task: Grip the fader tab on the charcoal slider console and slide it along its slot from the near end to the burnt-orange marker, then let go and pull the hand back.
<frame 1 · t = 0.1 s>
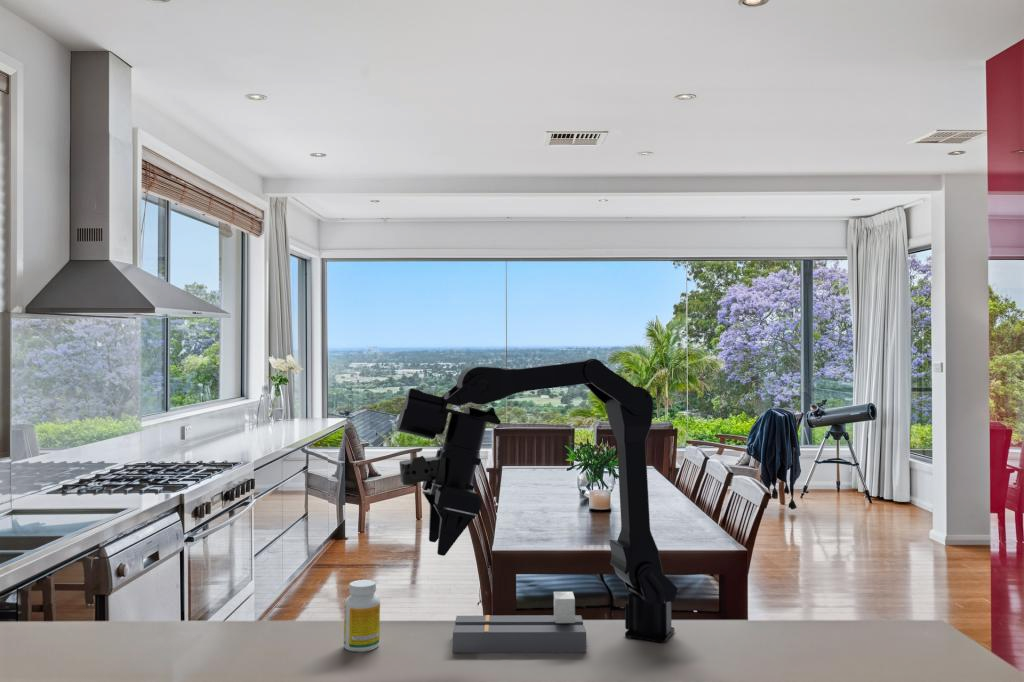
hand: (436, 548, 112), 15 cm above the countertop, tool pointing down, fingers open, 9 cm apart
supplement bottle: (361, 647, 114), on the countertop
fader tab: (564, 613, 116), point 5 cm above the countertop, slide at -7.0 cm
fader console: (519, 643, 115), on the countertop
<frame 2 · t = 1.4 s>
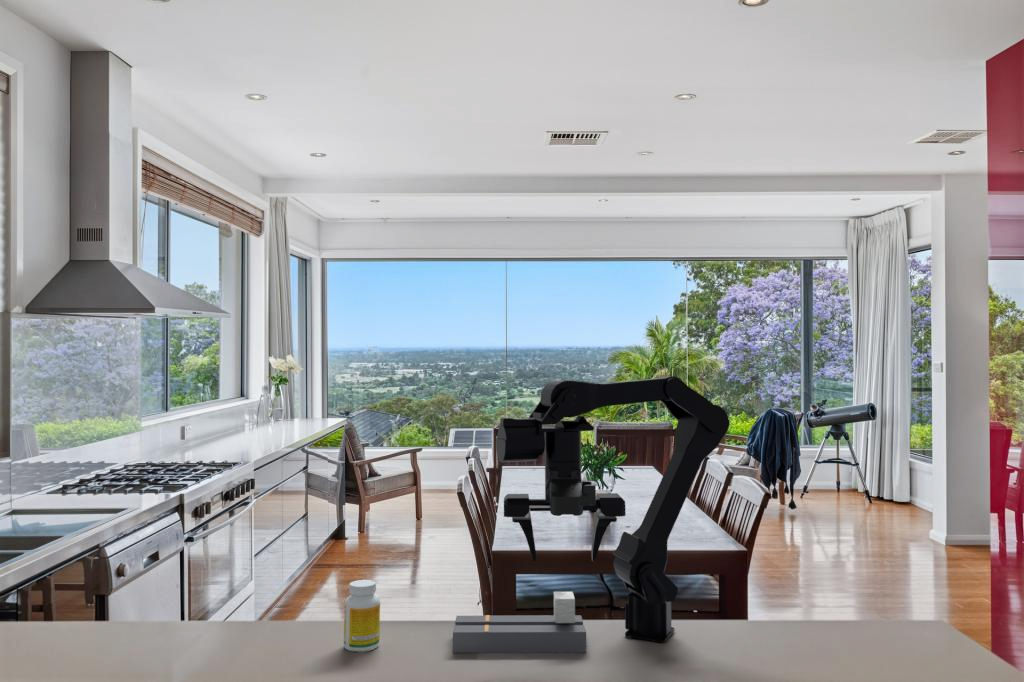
hand: (563, 560, 116), 13 cm above the countertop, tool pointing down, fingers open, 9 cm apart
nothing on the countertop moved.
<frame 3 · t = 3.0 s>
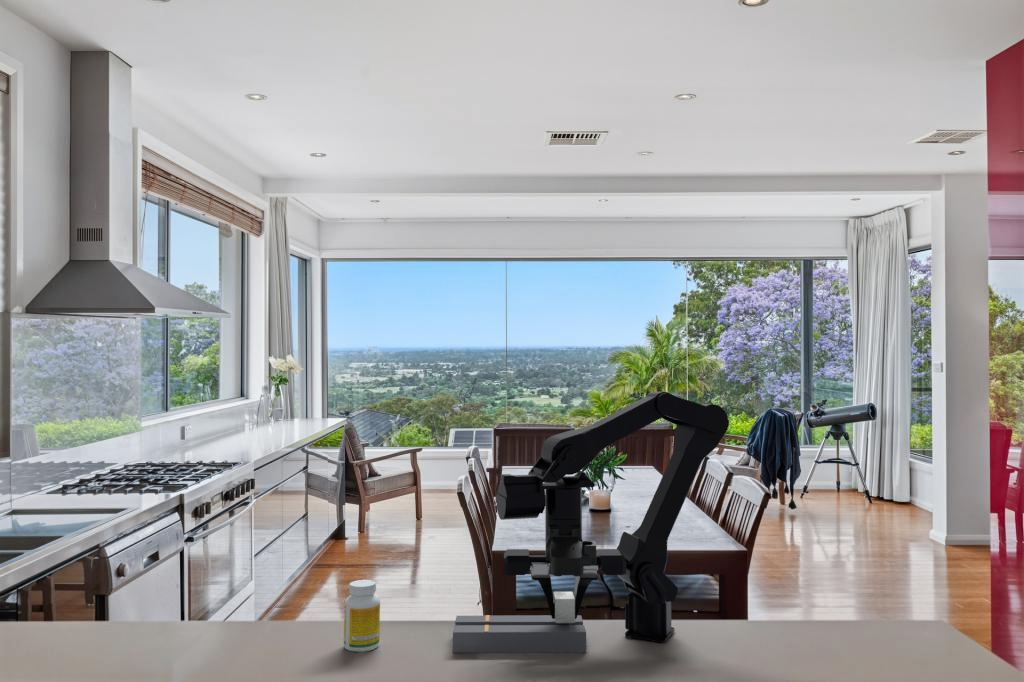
hand: (564, 618, 116), 4 cm above the countertop, tool pointing down, fingers closed on fader tab, 3 cm apart
fader tab: (564, 613, 116), point 5 cm above the countertop, slide at -7.0 cm, touching gripper
everything else where it was.
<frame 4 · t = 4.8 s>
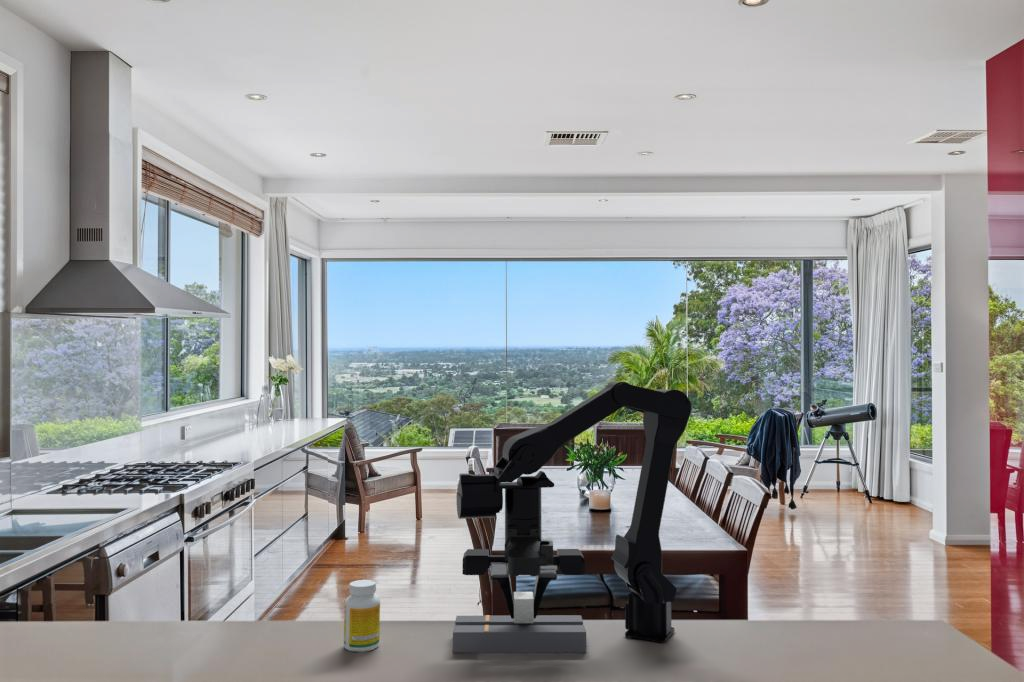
hand: (523, 617, 116), 4 cm above the countertop, tool pointing down, fingers closed on fader tab, 3 cm apart
fader tab: (523, 613, 116), point 5 cm above the countertop, slide at -0.7 cm, touching gripper
everything else where it was.
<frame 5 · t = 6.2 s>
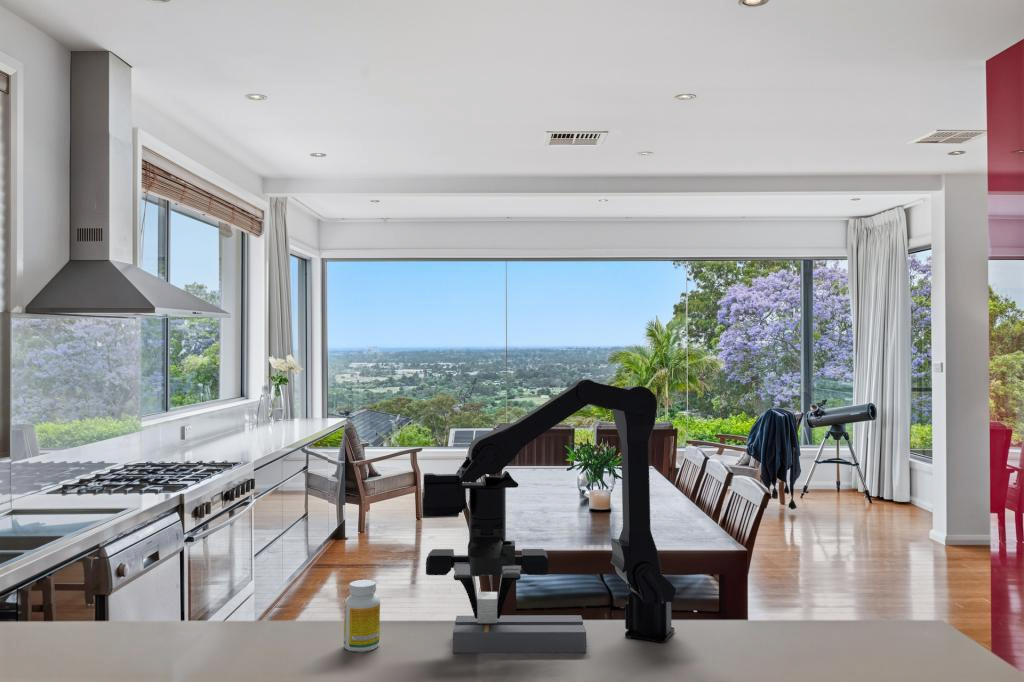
hand: (487, 617, 116), 4 cm above the countertop, tool pointing down, fingers closed on fader tab, 3 cm apart
fader tab: (487, 613, 116), point 5 cm above the countertop, slide at 4.9 cm, touching gripper
everything else where it was.
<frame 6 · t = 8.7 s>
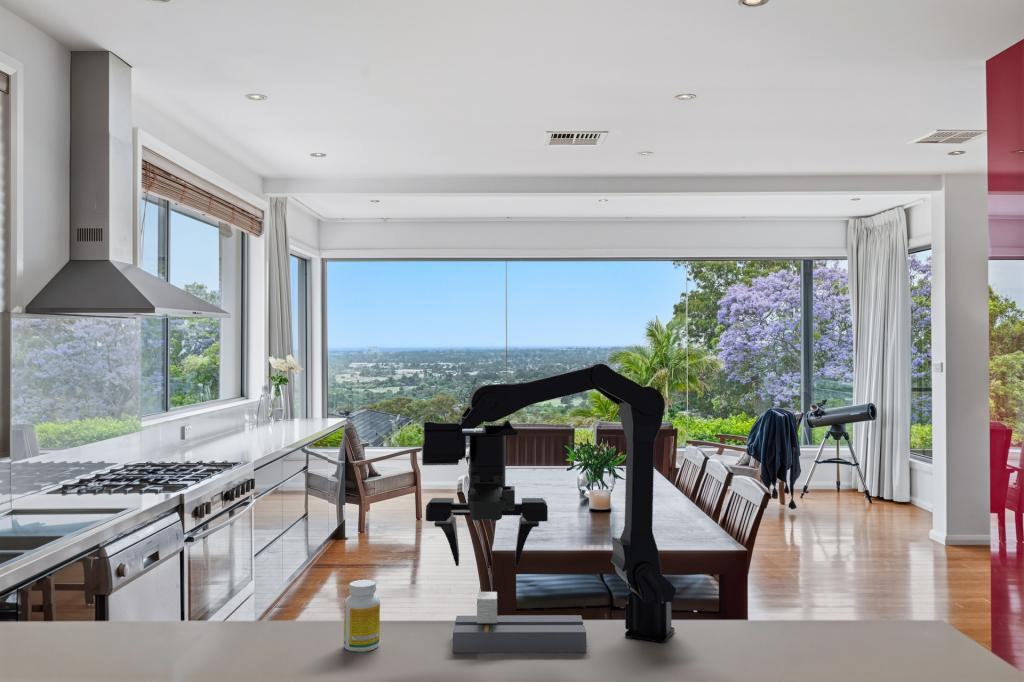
hand: (487, 565, 116), 12 cm above the countertop, tool pointing down, fingers open, 9 cm apart
fader tab: (487, 613, 116), point 5 cm above the countertop, slide at 5.0 cm
everything else where it was.
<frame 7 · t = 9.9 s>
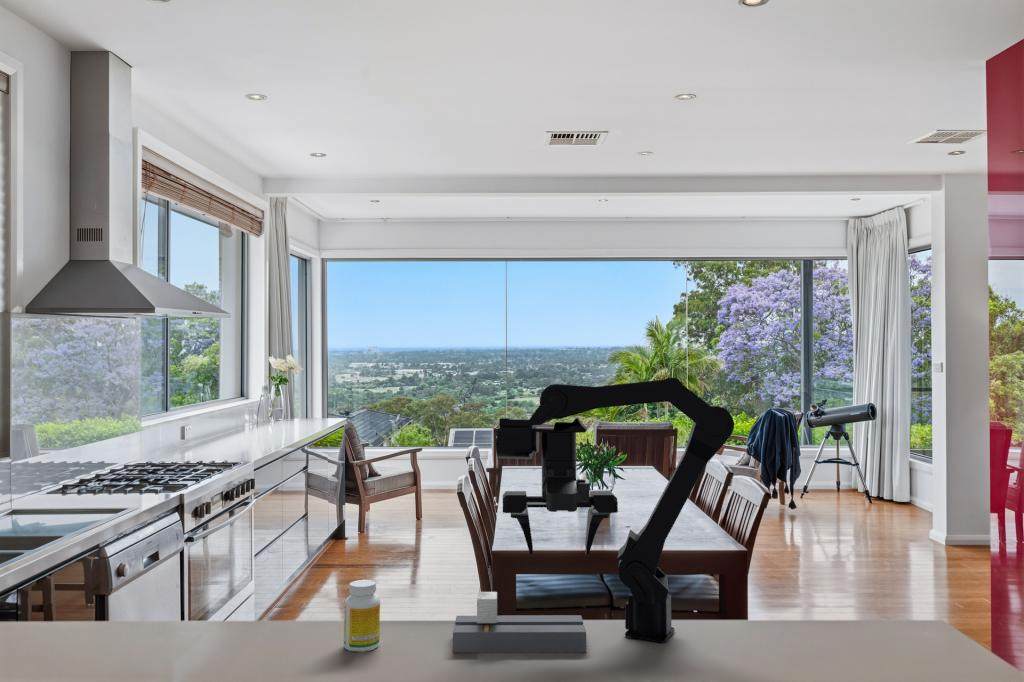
hand: (559, 554, 123), 12 cm above the countertop, tool pointing down, fingers open, 9 cm apart
nothing on the countertop moved.
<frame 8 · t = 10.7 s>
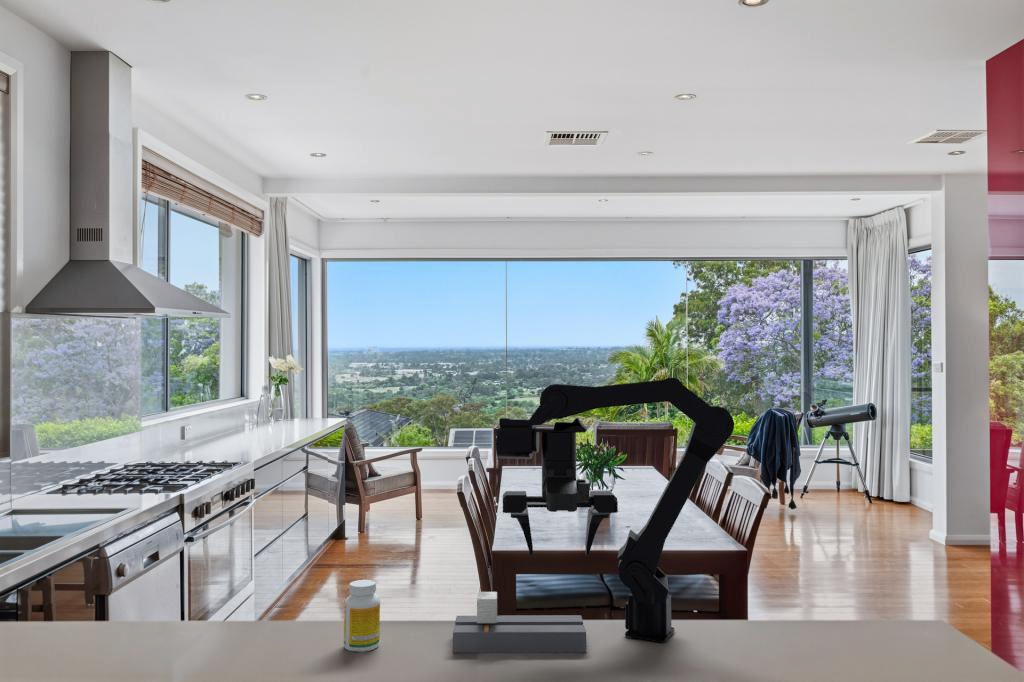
hand: (559, 554, 123), 12 cm above the countertop, tool pointing down, fingers open, 9 cm apart
nothing on the countertop moved.
at the end: fader tab slide at 5.0 cm; supplement bottle moved 0.2 cm from its start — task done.
